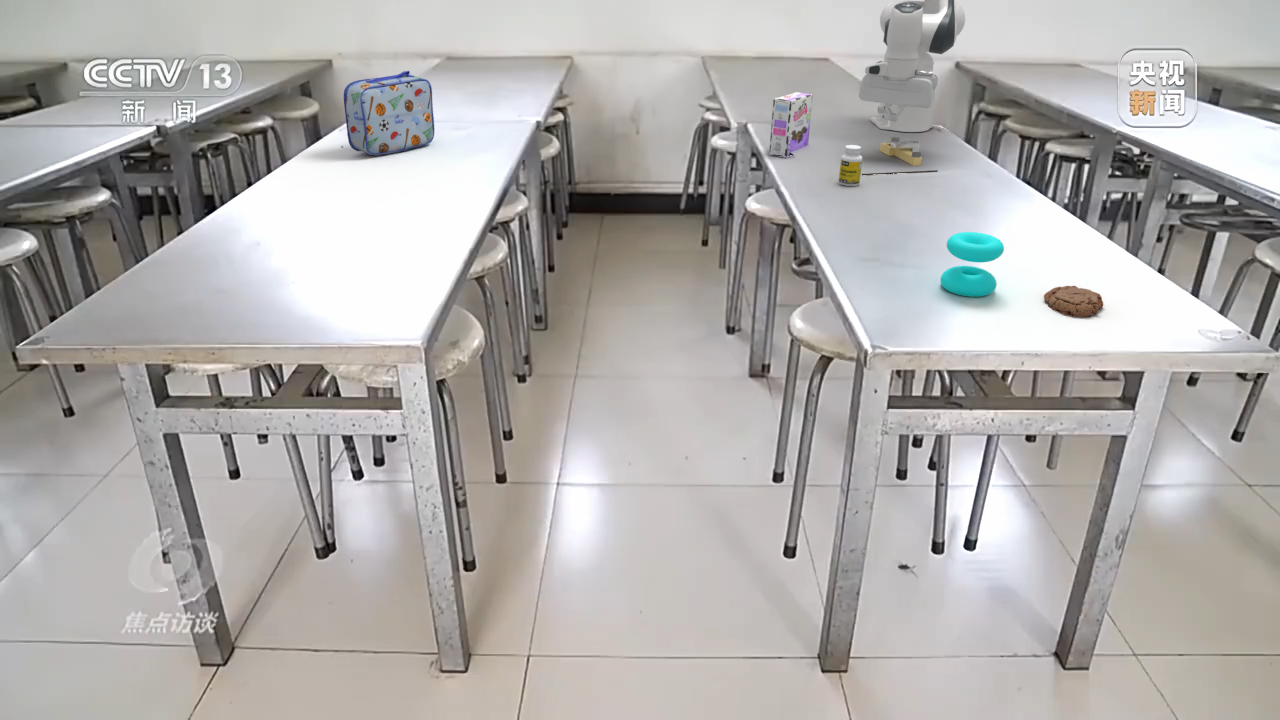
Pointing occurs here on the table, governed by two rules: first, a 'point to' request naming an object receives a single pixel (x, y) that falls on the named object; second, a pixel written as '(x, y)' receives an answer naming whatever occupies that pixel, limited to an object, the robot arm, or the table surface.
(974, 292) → the cyan spool
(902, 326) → the table surface
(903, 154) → the link
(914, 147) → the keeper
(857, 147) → the supplement bottle
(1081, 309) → the cookie
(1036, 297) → the table surface
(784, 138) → the candy box
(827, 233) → the table surface
